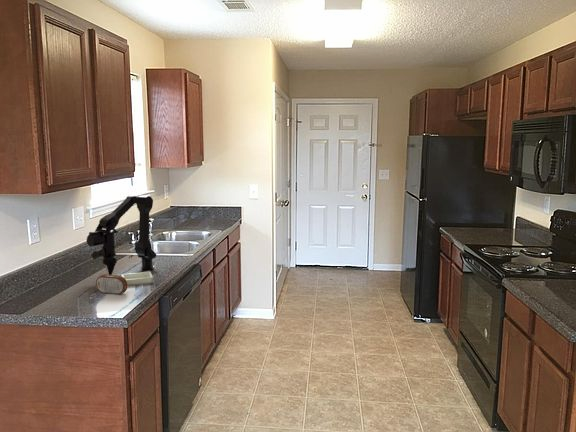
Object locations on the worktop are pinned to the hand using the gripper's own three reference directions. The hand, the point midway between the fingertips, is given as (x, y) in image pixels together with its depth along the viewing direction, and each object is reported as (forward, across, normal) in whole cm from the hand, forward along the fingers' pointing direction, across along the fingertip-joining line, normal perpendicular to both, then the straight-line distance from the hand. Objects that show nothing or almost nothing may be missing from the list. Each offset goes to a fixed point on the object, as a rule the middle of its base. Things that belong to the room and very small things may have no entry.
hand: (110, 273), depth 236 cm
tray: (+3, +10, +12) cm, 16 cm away
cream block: (+2, 0, 0) cm, 2 cm away
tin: (+3, +25, 0) cm, 25 cm away
